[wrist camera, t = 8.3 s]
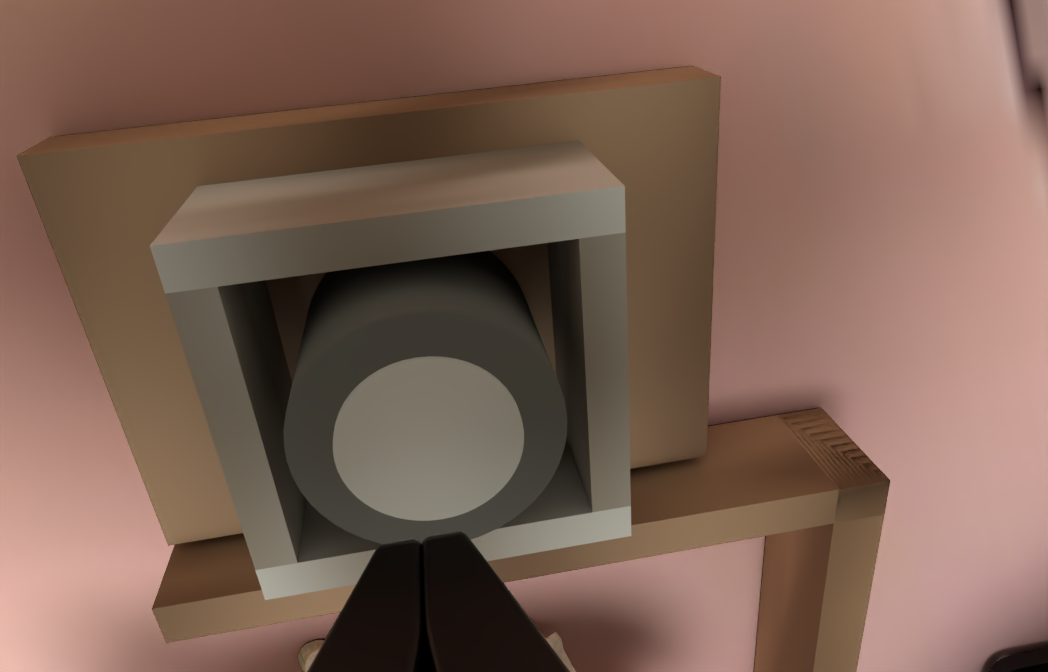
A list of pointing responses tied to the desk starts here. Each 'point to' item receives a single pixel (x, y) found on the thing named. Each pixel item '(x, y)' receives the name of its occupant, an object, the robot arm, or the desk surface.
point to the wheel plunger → (423, 400)
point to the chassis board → (429, 232)
